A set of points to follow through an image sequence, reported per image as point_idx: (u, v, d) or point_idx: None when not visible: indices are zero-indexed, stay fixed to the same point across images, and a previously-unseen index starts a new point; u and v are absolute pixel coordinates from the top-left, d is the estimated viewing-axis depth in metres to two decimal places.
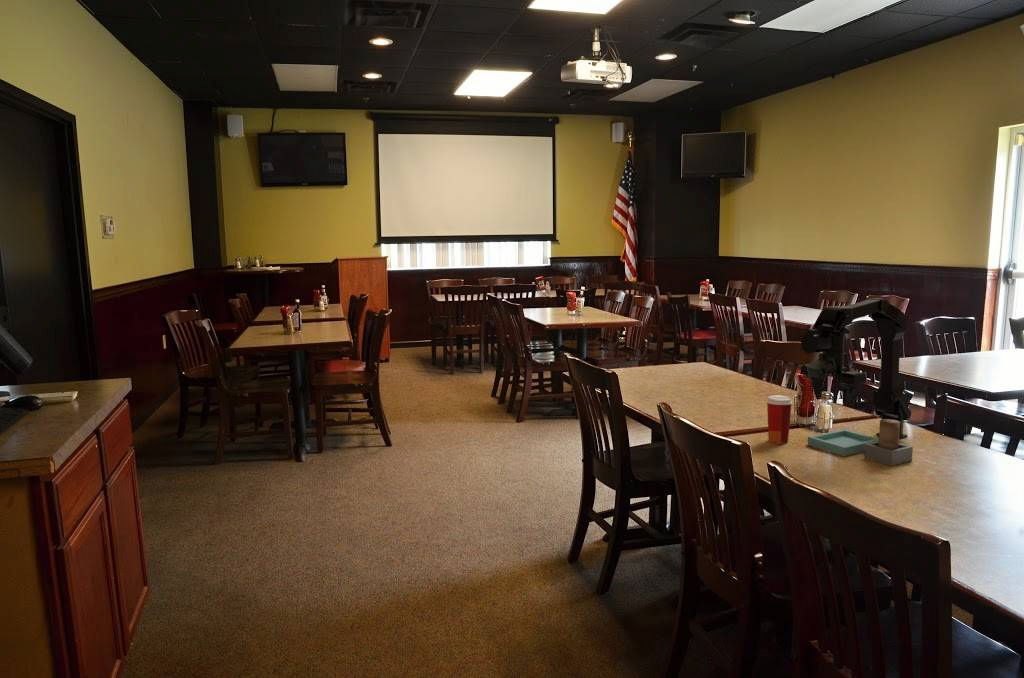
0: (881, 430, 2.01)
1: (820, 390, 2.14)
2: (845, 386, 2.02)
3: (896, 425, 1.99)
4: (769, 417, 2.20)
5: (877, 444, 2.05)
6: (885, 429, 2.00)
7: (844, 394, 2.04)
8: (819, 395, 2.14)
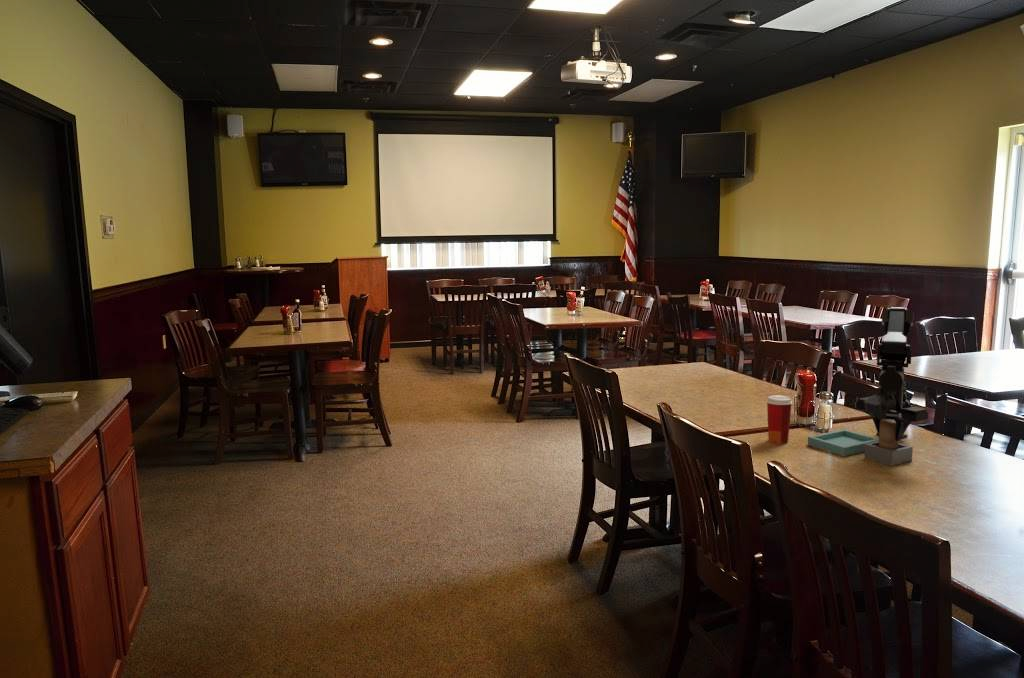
0: (881, 430, 2.01)
1: None
2: (899, 421, 1.96)
3: None
4: (769, 417, 2.20)
5: (877, 444, 2.05)
6: (884, 429, 2.00)
7: (898, 429, 1.98)
8: None
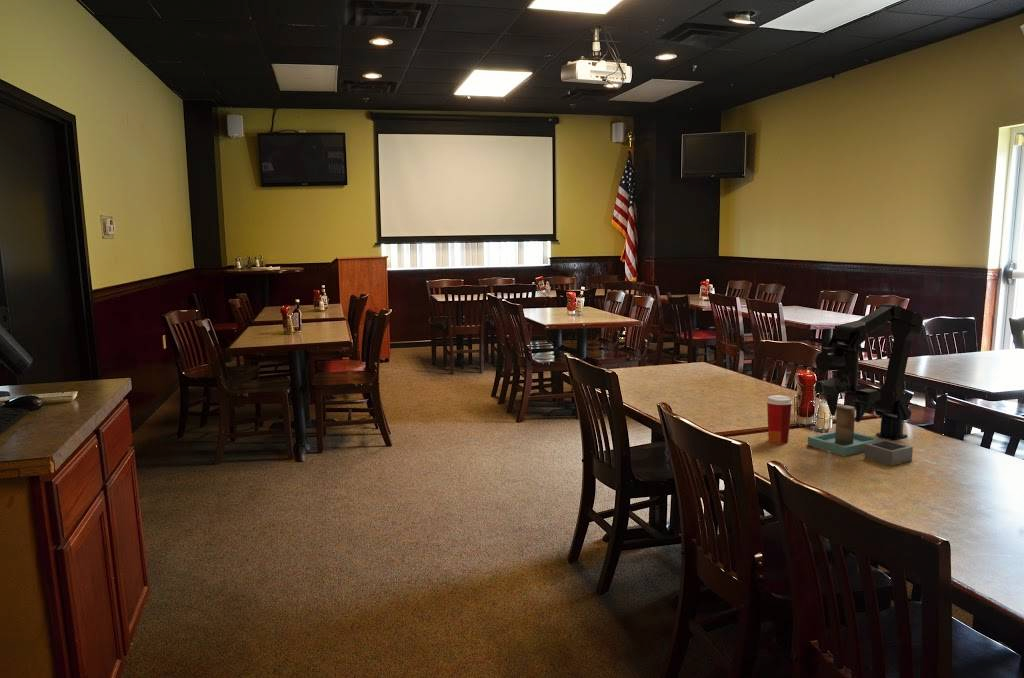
0: (837, 415, 2.14)
1: (835, 406, 2.18)
2: (859, 403, 2.07)
3: (851, 411, 2.12)
4: (769, 417, 2.20)
5: (877, 444, 2.05)
6: (840, 414, 2.13)
7: (857, 411, 2.09)
8: (834, 411, 2.18)
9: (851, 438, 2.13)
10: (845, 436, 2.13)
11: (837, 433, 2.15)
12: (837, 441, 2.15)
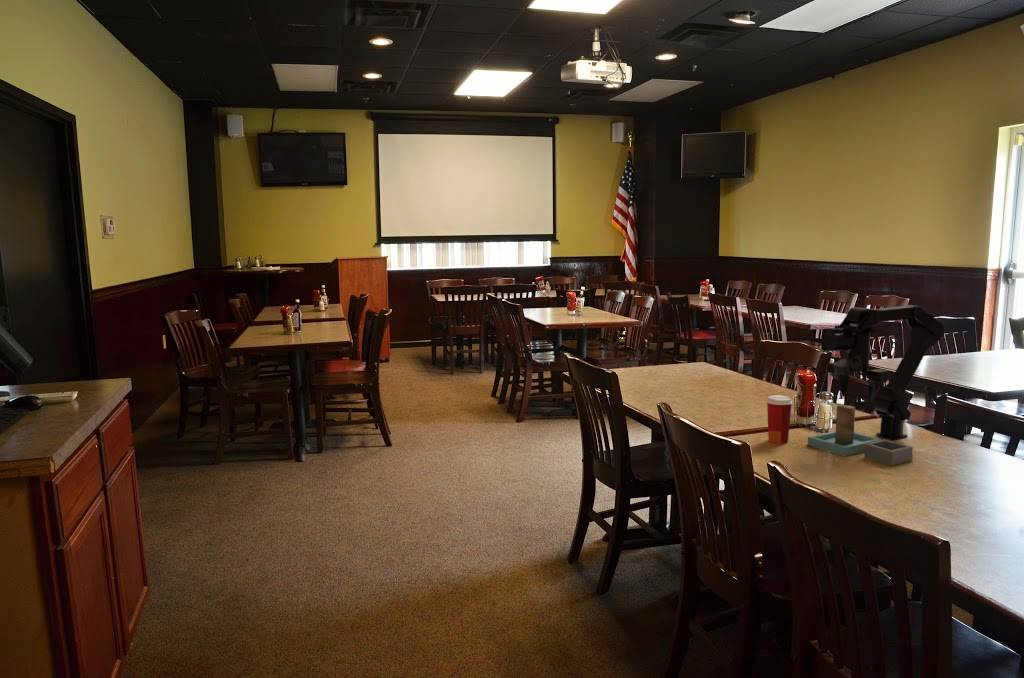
0: (838, 415, 2.14)
1: (846, 387, 2.24)
2: (871, 383, 2.12)
3: (851, 410, 2.12)
4: (769, 417, 2.20)
5: (877, 444, 2.05)
6: (841, 414, 2.13)
7: (870, 391, 2.14)
8: (845, 392, 2.23)
9: (851, 438, 2.13)
10: (845, 436, 2.13)
11: (837, 433, 2.15)
12: (837, 441, 2.15)
